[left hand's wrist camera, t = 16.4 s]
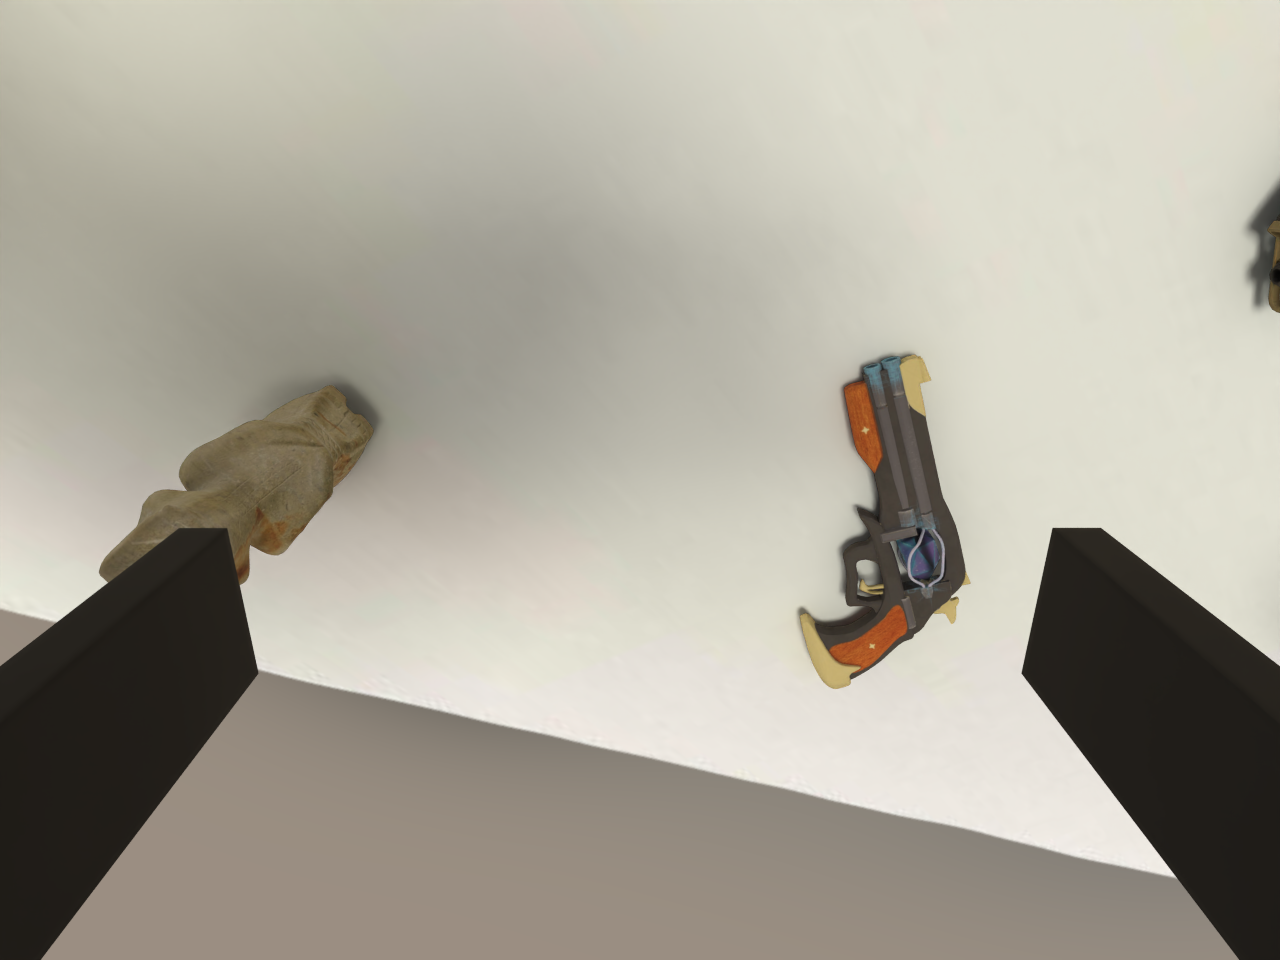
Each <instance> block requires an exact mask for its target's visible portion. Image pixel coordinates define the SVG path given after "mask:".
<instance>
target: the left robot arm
mask: <svg viewBox="0 0 1280 960" xmlns="http://www.w3.org/2000/svg"><path fill="white" fill-rule="evenodd" d="M257 675H258V669H257V664H256V660H255V655H254V650H253V646H252V641H251V636H250V632H249V627H248V622H247V618H246V613H245V608H244V604H243V599H242V594H241V590H240V585H239V580H238V576H237V571H236V566H235V561H234V557H233V552H232V547H231V543H230V538H229V533H228V529H227V528H178V529H177V530H176V531H175V532H173V533H172V534H171V535H169V536H168V537H167V538H166V539H164V540H163V541H162V542H160V543H159V544H158V545H156V546H155V547H154V548H153V549H151V550H150V551H149V552H147V553H146V554H145V555H144V556H142V557H141V558H140V559H138V560H137V561H136V562H134V563H133V564H132V565H131V566H129V567H128V568H127V569H125V570H124V571H123V572H122V573H120V574H119V575H118V576H116V577H115V578H114V579H112V580H111V581H110V582H109V583H107V584H106V585H105V586H103V587H102V588H101V589H100V590H98V591H97V592H96V593H94V594H93V595H92V596H91V597H89V598H88V599H87V600H85V601H84V602H83V603H81V604H80V605H79V606H78V607H76V608H75V609H74V610H72V611H71V612H70V613H69V614H67V615H66V616H65V617H63V618H62V619H61V620H59V621H58V622H57V623H56V624H54V625H53V626H52V627H50V628H49V629H48V630H47V631H45V632H44V633H43V634H41V635H40V636H39V637H37V638H36V639H35V640H34V641H32V642H31V643H30V644H28V645H27V646H26V647H25V648H23V649H22V650H21V651H19V652H18V653H17V654H16V655H14V656H13V657H12V658H10V659H9V660H8V661H6V662H5V663H4V664H3V665H1V666H0V960H41V959H42V957H43V956H44V955H45V953H46V952H47V951H48V949H49V948H50V947H51V945H52V944H53V943H54V942H55V940H56V939H57V938H58V936H59V935H60V934H61V932H62V931H63V930H64V928H65V927H66V926H67V924H68V923H69V922H70V921H71V919H72V918H73V917H74V915H75V914H76V913H77V911H78V910H79V909H80V907H81V906H82V905H83V903H84V902H85V901H86V900H87V898H88V897H89V896H90V894H91V893H92V892H93V890H94V889H95V888H96V886H97V885H98V884H99V882H100V881H101V880H102V878H103V877H104V876H105V875H106V873H107V872H108V871H109V869H110V868H111V867H112V865H113V864H114V863H115V861H116V860H117V859H118V857H119V856H120V855H121V853H122V852H123V851H124V850H125V848H126V847H127V846H128V844H129V843H130V842H131V840H132V839H133V838H134V836H135V835H136V834H137V832H138V831H139V830H140V829H141V827H142V826H143V825H144V823H145V822H146V821H147V819H148V818H149V817H150V815H151V814H152V813H153V811H154V810H155V809H156V807H157V806H158V805H159V804H160V802H161V801H162V800H163V798H164V797H165V796H166V794H167V793H168V792H169V790H170V789H171V788H172V786H173V785H174V784H175V783H176V781H177V780H178V779H179V777H180V776H181V775H182V773H183V772H184V771H185V769H186V768H187V767H188V765H189V764H190V763H191V761H192V760H193V759H194V758H195V756H196V755H197V754H198V752H199V751H200V750H201V748H202V747H203V746H204V744H205V743H206V742H207V740H208V739H209V738H210V736H211V735H212V734H213V733H214V731H215V730H216V729H217V727H218V726H219V725H220V723H221V722H222V721H223V719H224V718H225V717H226V715H227V714H228V713H229V712H230V710H231V709H232V708H233V706H234V705H235V704H236V702H237V701H238V700H239V698H240V697H241V696H242V694H243V693H244V692H245V690H246V689H247V688H248V687H249V685H250V684H251V683H252V681H253V680H254V679H255V677H256V676H257ZM1022 675H1023V676H1024V677H1025V679H1026V680H1027V681H1028V683H1029V684H1030V685H1031V687H1032V688H1033V689H1034V690H1035V692H1036V693H1037V694H1038V696H1039V697H1040V698H1041V700H1042V701H1043V702H1044V704H1045V705H1046V706H1047V708H1048V709H1049V710H1050V712H1051V713H1052V714H1053V715H1054V717H1055V718H1056V719H1057V721H1058V722H1059V723H1060V725H1061V726H1062V727H1063V729H1064V730H1065V731H1066V733H1067V734H1068V735H1069V736H1070V738H1071V739H1072V740H1073V742H1074V743H1075V744H1076V746H1077V747H1078V748H1079V750H1080V751H1081V752H1082V754H1083V755H1084V756H1085V758H1086V759H1087V760H1088V761H1089V763H1090V764H1091V765H1092V767H1093V768H1094V769H1095V771H1096V772H1097V773H1098V775H1099V776H1100V777H1101V779H1102V780H1103V781H1104V783H1105V784H1106V785H1107V786H1108V788H1109V789H1110V790H1111V792H1112V793H1113V794H1114V796H1115V797H1116V798H1117V800H1118V801H1119V802H1120V804H1121V805H1122V806H1123V807H1124V809H1125V810H1126V811H1127V813H1128V814H1129V815H1130V817H1131V818H1132V819H1133V821H1134V822H1135V823H1136V825H1137V826H1138V827H1139V829H1140V830H1141V831H1142V832H1143V834H1144V835H1145V836H1146V838H1147V839H1148V840H1149V842H1150V843H1151V844H1152V846H1153V847H1154V848H1155V850H1156V851H1157V852H1158V854H1159V855H1160V856H1161V857H1162V859H1163V860H1164V861H1165V863H1166V864H1167V865H1168V867H1169V868H1170V869H1171V871H1172V872H1173V873H1174V875H1175V876H1176V877H1177V878H1178V880H1179V881H1180V882H1181V884H1182V885H1183V886H1184V888H1185V889H1186V890H1187V892H1188V893H1189V894H1190V896H1191V897H1192V898H1193V900H1194V901H1195V902H1196V903H1197V905H1198V906H1199V907H1200V909H1201V910H1202V911H1203V913H1204V914H1205V915H1206V917H1207V918H1208V919H1209V921H1210V922H1211V923H1212V924H1213V926H1214V927H1215V928H1216V930H1217V931H1218V932H1219V934H1220V935H1221V936H1222V938H1223V939H1224V940H1225V942H1226V943H1227V944H1228V945H1229V947H1230V948H1231V949H1232V951H1233V952H1234V953H1235V955H1236V956H1237V957H1238V959H1239V960H1280V666H1279V665H1277V664H1276V663H1275V662H1274V661H1272V660H1271V659H1270V658H1268V657H1267V656H1266V655H1265V654H1263V653H1262V652H1261V651H1259V650H1258V649H1257V648H1255V647H1254V646H1253V645H1252V644H1250V643H1249V642H1248V641H1246V640H1245V639H1244V638H1243V637H1241V636H1240V635H1239V634H1237V633H1236V632H1235V631H1233V630H1232V629H1231V628H1230V627H1228V626H1227V625H1226V624H1224V623H1223V622H1222V621H1221V620H1219V619H1218V618H1217V617H1215V616H1214V615H1213V614H1211V613H1210V612H1209V611H1208V610H1206V609H1205V608H1204V607H1202V606H1201V605H1200V604H1199V603H1197V602H1196V601H1195V600H1193V599H1192V598H1191V597H1189V596H1188V595H1187V594H1186V593H1184V592H1183V591H1182V590H1180V589H1179V588H1178V587H1177V586H1175V585H1174V584H1173V583H1171V582H1170V581H1169V580H1167V579H1166V578H1165V577H1164V576H1162V575H1161V574H1160V573H1158V572H1157V571H1156V570H1155V569H1153V568H1152V567H1151V566H1149V565H1148V564H1147V563H1146V562H1144V561H1143V560H1142V559H1140V558H1139V557H1138V556H1136V555H1135V554H1134V553H1133V552H1131V551H1130V550H1129V549H1127V548H1126V547H1125V546H1124V545H1122V544H1121V543H1120V542H1118V541H1117V540H1116V539H1114V538H1113V537H1112V536H1111V535H1109V534H1108V533H1107V532H1105V531H1104V530H1103V529H1102V528H1053V529H1052V533H1051V538H1050V543H1049V547H1048V552H1047V557H1046V561H1045V566H1044V571H1043V576H1042V580H1041V585H1040V590H1039V594H1038V599H1037V604H1036V608H1035V613H1034V618H1033V622H1032V627H1031V632H1030V636H1029V641H1028V646H1027V650H1026V655H1025V660H1024V664H1023V669H1022Z"/></svg>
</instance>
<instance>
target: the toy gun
mask: <svg viewBox="0 0 1280 960" xmlns="http://www.w3.org/2000/svg"><path fill="white" fill-rule="evenodd" d="M881 363H882V367H883V368H882V367H881V364H879V363H876V364H871V365H868V366H866V367H864V368H863V369H864V373H862V374H863V379H864V380H863V381H859V382H856V383H852V384H849V385H848V386H846V387H845V388H844V392H845V398H846V403H847V409H848V414H849V419H850V424H851V429H852V433H853V438H854V443H855V446H856V449H857V451H858V453H859V455H860V456H861V457H862V459H863V460H864V461H865V462H866V464H867V465H868V466H869V467H870V469H871V470H872V471H873V472H874V476H875V480H876V484H877V488H878V492H879V500H880V509H879V516H878V517H877V516H876V515H874V514H872V513H870V512H868V511H866V510H863V509H860V508H858V509H857V510H858V513H859V516H860V518H861V520H862V521H863V522H864V524H865V525H866V527H867V528H868V530H869V532H870V535H871V536H870V537H869V538H868V539H867V540H865V541H861V542H856V543H854V544H852V545H850V546H849V547H848V548H847V549H846V550H845V552H844V554H843V558H844V562H845V566H846V571H847V586H846V595H845V598H846V603H847V605H848V606H868V607H871V608H873V609H872V610H871V611H870V612H868V613H867V614H866V615H864V616H863V617H861V618H860V619H858V620H856V621H855V622H853V623H851V624H848V625H845V626H834V627H826V626H821V625H819V624H816V623H815V621H814V620H813V619H812V617H811V616H810V615H809V614H803V615H801V616H800V620H801V625H802V629H803V633H804V637H805V641H806V644H807V648H808V651H809V654H810V657H811V660H812V662H813V665H814V667H815V669H816V671H817V673H818V675H819V676H820V678H821V679H822V681H823V682H824V683H825V684H826V685H827V686H829V687H831V688H833V689H838V688H842V687H846V686H848V685H850V683H851V679H853V678H855V677H857V676H859V675H860V674H862V673H864V672H866V671H867V670H869V669H870V668H872V667H873V666H875V665H876V664H877V663H879V662H880V661H881V660H882V659H884V658H885V657H886V656H887V655H888V654H889V653H890V652H891V651H892V650H893V649H895V648H896V647H897V646H898V645H899V644H901V643H902V642H904V641H907V640H909V639H912V638H913V636H914V634H916V633H917V632H919V631H920V630H921V629H922V628H923V627H924V625H925V624H926V622H927V621H928V619H929V618H930V616H931V615H932V614H933V613H934V614H938V613H944V614H946V616H947V617H948V619H949V621H950V622H951V624H953V623H954V621H955V620H956V606H957V605H958V602H959V599H958V597H954V598H951V596H952V595H953V594H954V593H955V592H956V591H957V590H958V589H959V588H960V587H961V586H962V585H966V584H970V580H969V578H968V576H967V573H966V571H965V564H964V559H963V554H962V549H961V545H960V540H959V536H958V532H957V529H956V525H955V523H954V520H953V518H952V515H951V513H950V511H949V509H948V507H947V505H946V503H945V501H944V499H943V496H942V492H941V488H940V483H939V478H938V474H937V469H936V464H935V460H934V455H933V450H932V446H931V441H930V437H929V432H928V427H927V422H926V414H925V408H924V403H923V398H922V393H921V388H920V383H923V382H927V381H930V380H931V378H930V376H929V373H928V371H927V368H926V366H925V363H924V361H923V359H922V358H921V357H920V356H919V357H917V356H916V355H912V356H908V357H905V358H903V359H901V360H900V357H898V356H896V357H890V358H886V359H884V360H882V361H881ZM920 528H922V529H920ZM934 528H936V529H937V531H938V533H939V534H938V533H937V532H936V531H935V529H934ZM927 529H932V531H933V532H934V534H935V535H936V536H937V538H938V539H939V541H940V543H941V547H942V563H941V574H940V575H935V576H932V574H933V572H934V570H935V568H936V566H937V564H938V562H939V560H940V555H939V552H938V549H937V546H936V543H935V540H934V539H933V537H932V536H931V534H930V533H929V532H928V530H927ZM895 540H896V542H897V544H898V547H899V549H898V555H899V558H900V561H901V563H902V565H903V566H904V567H905V569H906V570H907V571H908V575H909V578H910V579H911V580H912V581H907V582H903V583H902V580H901V576H900V571H899V568H898V564H897V561H896V557H895V554H894V552H893V549H892V546H891V544H890V541H895ZM901 554H902V556H901ZM902 557H903V559H904V561H903V559H902ZM865 559H866V560H870V561H874V562H876V563H878V564H879V567H880V571H881V575H882V580H883V584H878V585H871V586H868V585H866V584H865V582H864V580H863V579H861V581H860V585H859V588H860V590H862V591H864V592H867V593H870V594H881V595H877V596H872V597H864V596H860V595H857V584H858V573H857V568H856V563H857V562H858V561H860V560H865ZM904 562H905V563H904ZM913 577H914V578H917V579H916V580H915V579H914V578H913ZM881 588H882V590H880V591H870V589H881ZM950 598H951V599H950Z"/></svg>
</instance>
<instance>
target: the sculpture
mask: <svg viewBox="0 0 1280 960" xmlns="http://www.w3.org/2000/svg"><path fill="white" fill-rule="evenodd" d="M346 401H347V399H346V398H345V396H344V395H343V394H342V393H341V392H339V391H338V390H337V389H336V388H335V387H334V386H332V385H329V386H326V387H324V388H323V389H321V390H319V391H318V392H314V393H310V394H307V395H304V396H302V397H299V398H297V399H294V400H292V401H291V402H289V403H287V404H285V405H283V406H282V407H280V408H278V409H276V410H275V411H273V412H272V413H270V414H269V415H268V416H267V417H266V418H264V419H263V420H254V421H250V422H247V423H245V424H243V425H241V426H239V427H237V428H235V429H233V430H231V431H229V432H228V433H226V434H224V435H223V436H221V437H219V438H217V439H215V440H213V441H210V442H208V443H206V444H204V445H202V446H200V447H199V448H197V449H195V450H194V451H193V452H191V453H190V454H189V455H188V457H187V458H186V459H185V460H184V462H183V463H182V465H181V467H180V471H179V478H180V480H181V482H182V484H183V485H184V487H185V488H186V490H187V491H178V490H160V491H157V492H154V493H153V494H152V495H150V496H149V497H148V499H147V500H146V501H145V503H144V504H143V506H142V511H141V515H140V519H139V522H138V525H137V527H136V528H135V529H134V530H133V531H132V532H131V533H130V534H129V535H128V536H126V537H125V538H124V539H123V540H122V541H121V542H120V543H119V544H118V545H117V546H116V547H115V548H114V549H113V550H112V551H111V552H110V553H109V554H108V555H107V556H106V557H105V559H104V560H103V562H102V564H101V566H100V570H99V574H100V576H101V577H103V578H104V579H105V580H106V581H107V582H108V583H109V582H110V581H111V580H112V579H114V578H115V577H116V576H118V575H119V574H120V573H122V572H123V571H124V570H125V569H127V568H128V567H129V566H131V565H132V564H133V563H134V562H136V561H137V560H138V559H140V558H141V557H142V556H144V555H145V554H146V553H147V552H149V551H150V550H151V549H153V548H154V547H155V546H156V545H158V544H159V543H160V542H162V541H163V540H164V539H166V538H167V537H168V536H169V535H171V534H172V533H173V532H175V531H176V530H177V529H178V528H227V529H228V533H229V538H230V543H231V547H232V552H233V557H234V561H235V566H236V571H237V576H238V580H239V585H241V584H243V583H244V582H245V581H246V580H247V578H248V576H249V570H250V566H249V549H250V545H251V546H253V547H255V548H257V549H258V550H260V551H262V552H264V553H267V554H270V555H280V554H282V553H283V552H285V551H286V550H287V549H288V547H289V546H290V545H291V543H292V542H293V541H294V540H295V538H296V537H297V536H298V535H299V534H300V533H301V532H302V531H303V530H304V528H305V527H306V525H307V524H308V523H309V521H310V520H311V519H312V518H313V516H314V515H315V514H316V513H317V512H318V511H319V510H320V509H321V507H322V506H323V505H324V503H325V502H326V501H327V500H328V499H329V498H330V497H331V495H332V493H333V487H335V486H336V485H337V484H338V483H339V482H340V481H341V480H342V479H343V478H344V477H345V476H346V475H347V474H348V473H349V471H350V470H351V469H352V468H353V466H354V465H355V463H356V462H357V460H358V459H359V457H360V456H361V454H362V452H363V450H364V448H365V446H366V444H367V442H368V441H369V439H370V438H371V436H372V434H373V428H372V427H371V425H370V424H369V423H368V421H367V420H366V419H365V418H364V417H363V416H362V415H360V414H353V413H352V412H351V411H350V410H349V409H348V408H347V407H346Z"/></svg>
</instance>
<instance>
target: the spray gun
mask: <svg viewBox="0 0 1280 960" xmlns="http://www.w3.org/2000/svg"><path fill="white" fill-rule="evenodd" d="M1267 231H1268V232H1269V233H1270V234H1272V235H1273V236H1275V237H1276V242H1275V250H1274V258H1273V266H1272V270H1271V272H1270V280H1271V282H1270V290H1269V305H1270V306H1271V308H1272V309H1273V310H1274V311H1276V312H1278V313H1280V296H1279V295H1280V215H1279V216H1278V217H1277V221H1273V223H1272V224H1271V225H1270V227H1269V228H1268V230H1267Z"/></svg>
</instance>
